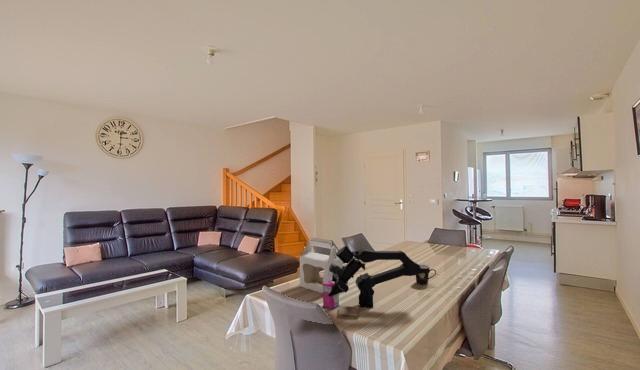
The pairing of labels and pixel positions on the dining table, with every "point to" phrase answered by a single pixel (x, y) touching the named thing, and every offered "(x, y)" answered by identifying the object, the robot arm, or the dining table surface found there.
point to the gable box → (317, 264)
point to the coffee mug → (424, 275)
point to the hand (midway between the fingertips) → (328, 292)
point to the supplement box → (329, 301)
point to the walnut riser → (348, 312)
